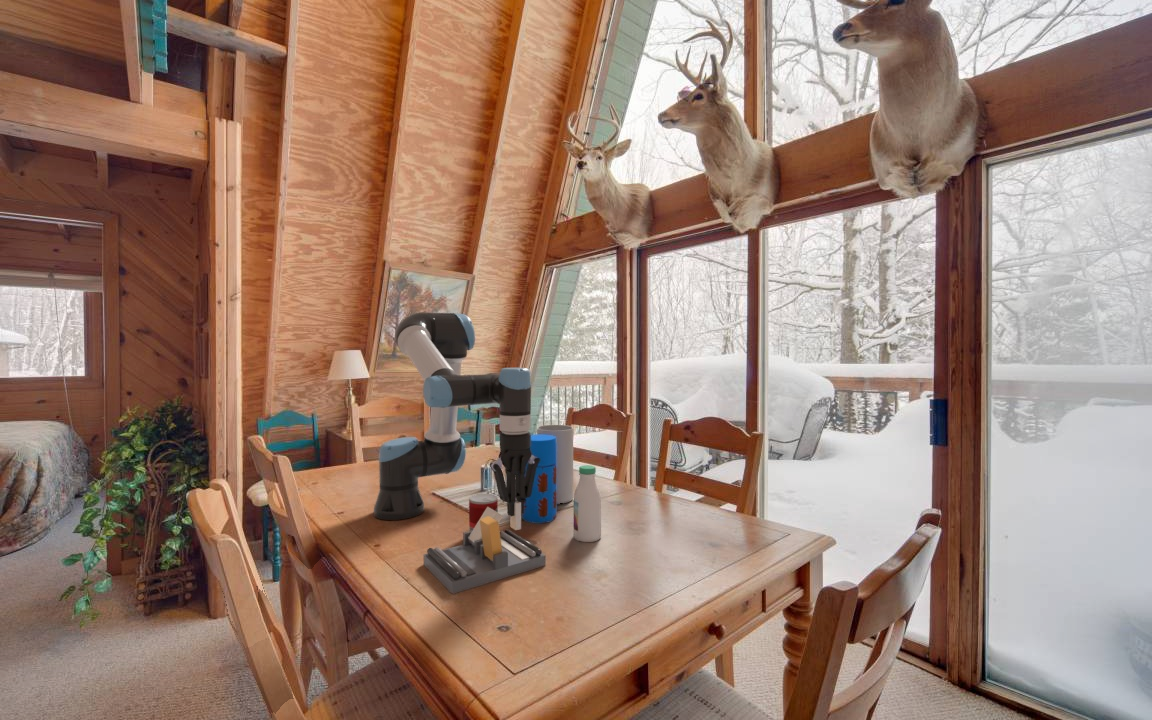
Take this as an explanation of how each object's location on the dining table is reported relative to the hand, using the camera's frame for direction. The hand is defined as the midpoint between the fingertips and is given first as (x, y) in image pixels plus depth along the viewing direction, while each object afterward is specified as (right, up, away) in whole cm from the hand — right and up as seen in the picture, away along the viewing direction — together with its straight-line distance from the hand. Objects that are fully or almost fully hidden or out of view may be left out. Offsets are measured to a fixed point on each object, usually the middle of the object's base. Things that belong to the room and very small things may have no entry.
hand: (515, 527), depth 124 cm
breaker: (-11, -5, +5) cm, 13 cm away
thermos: (+3, -8, +35) cm, 36 cm away
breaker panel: (-8, -9, +1) cm, 12 cm away
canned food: (-11, -9, +19) cm, 24 cm away
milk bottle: (+18, -9, +18) cm, 27 cm away
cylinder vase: (+8, -8, +53) cm, 54 cm away
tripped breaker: (-5, -6, -3) cm, 8 cm away
